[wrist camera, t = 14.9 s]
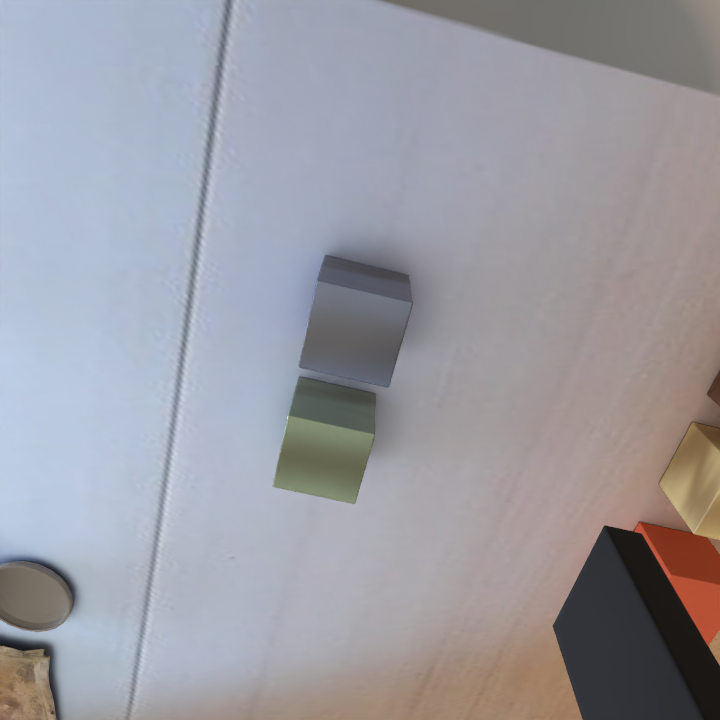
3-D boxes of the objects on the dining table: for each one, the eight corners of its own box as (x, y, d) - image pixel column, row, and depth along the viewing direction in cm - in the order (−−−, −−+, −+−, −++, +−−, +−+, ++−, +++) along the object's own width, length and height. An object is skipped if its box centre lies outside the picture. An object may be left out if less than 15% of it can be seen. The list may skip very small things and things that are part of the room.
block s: (639, 521, 42) (670, 574, 37) (706, 535, 42) (746, 590, 37) (610, 574, 44) (637, 631, 39) (675, 588, 44) (708, 645, 39)
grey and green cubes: (325, 254, 35) (317, 279, 30) (409, 274, 35) (413, 302, 30) (284, 441, 40) (272, 487, 35) (357, 457, 40) (355, 504, 36)
